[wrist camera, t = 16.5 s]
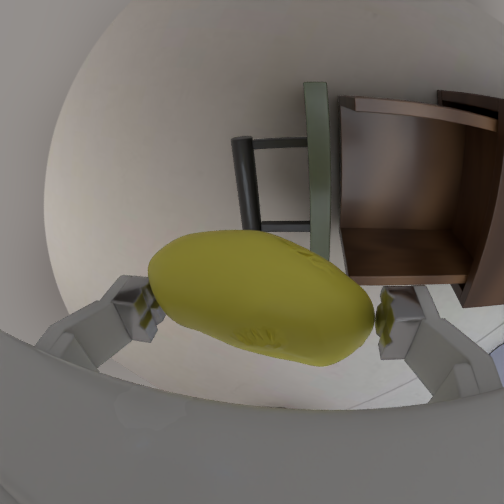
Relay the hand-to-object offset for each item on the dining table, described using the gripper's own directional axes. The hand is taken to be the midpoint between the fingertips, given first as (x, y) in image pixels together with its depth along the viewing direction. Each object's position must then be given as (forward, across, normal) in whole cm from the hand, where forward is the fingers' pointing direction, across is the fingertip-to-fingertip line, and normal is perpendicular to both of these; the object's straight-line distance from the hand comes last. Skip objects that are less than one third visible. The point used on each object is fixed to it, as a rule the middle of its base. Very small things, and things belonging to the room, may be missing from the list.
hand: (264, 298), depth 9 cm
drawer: (+16, -6, 0) cm, 18 cm away
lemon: (+2, 0, 0) cm, 2 cm away
